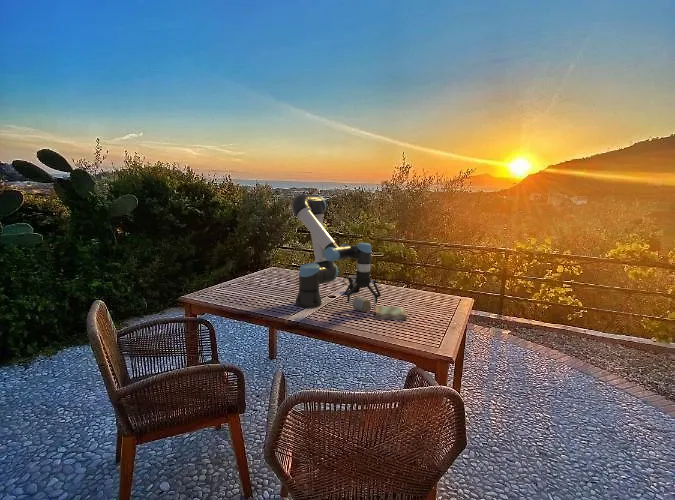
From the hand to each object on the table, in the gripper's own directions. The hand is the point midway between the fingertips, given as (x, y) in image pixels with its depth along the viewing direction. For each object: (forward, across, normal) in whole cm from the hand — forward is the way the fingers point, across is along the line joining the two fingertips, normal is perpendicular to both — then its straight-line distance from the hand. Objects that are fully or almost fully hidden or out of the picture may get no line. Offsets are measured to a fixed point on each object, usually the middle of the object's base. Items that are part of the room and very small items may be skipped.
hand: (362, 308), depth 211 cm
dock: (+2, +16, -6) cm, 17 cm away
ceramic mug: (+2, 0, +1) cm, 2 cm away
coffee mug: (+1, -7, +41) cm, 42 cm away
